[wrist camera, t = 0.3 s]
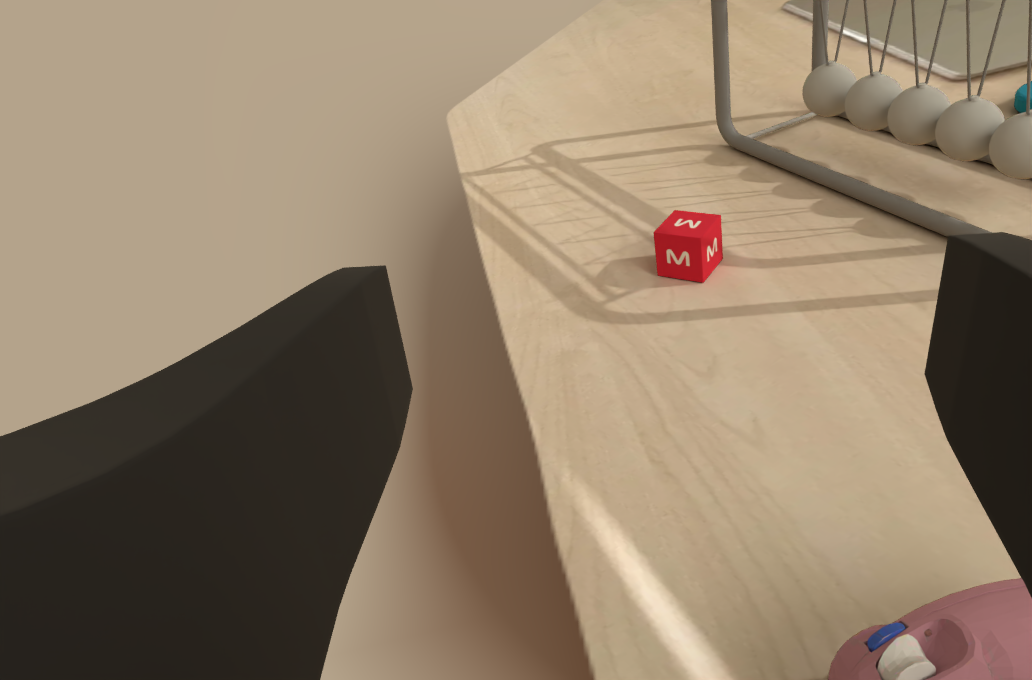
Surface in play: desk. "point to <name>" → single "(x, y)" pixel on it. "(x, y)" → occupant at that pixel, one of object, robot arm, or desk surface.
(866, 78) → the newton's cradle
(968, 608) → the video game controller
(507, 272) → the desk surface
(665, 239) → the dice
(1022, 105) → the gaming console
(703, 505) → the desk surface
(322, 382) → the robot arm
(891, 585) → the desk surface
